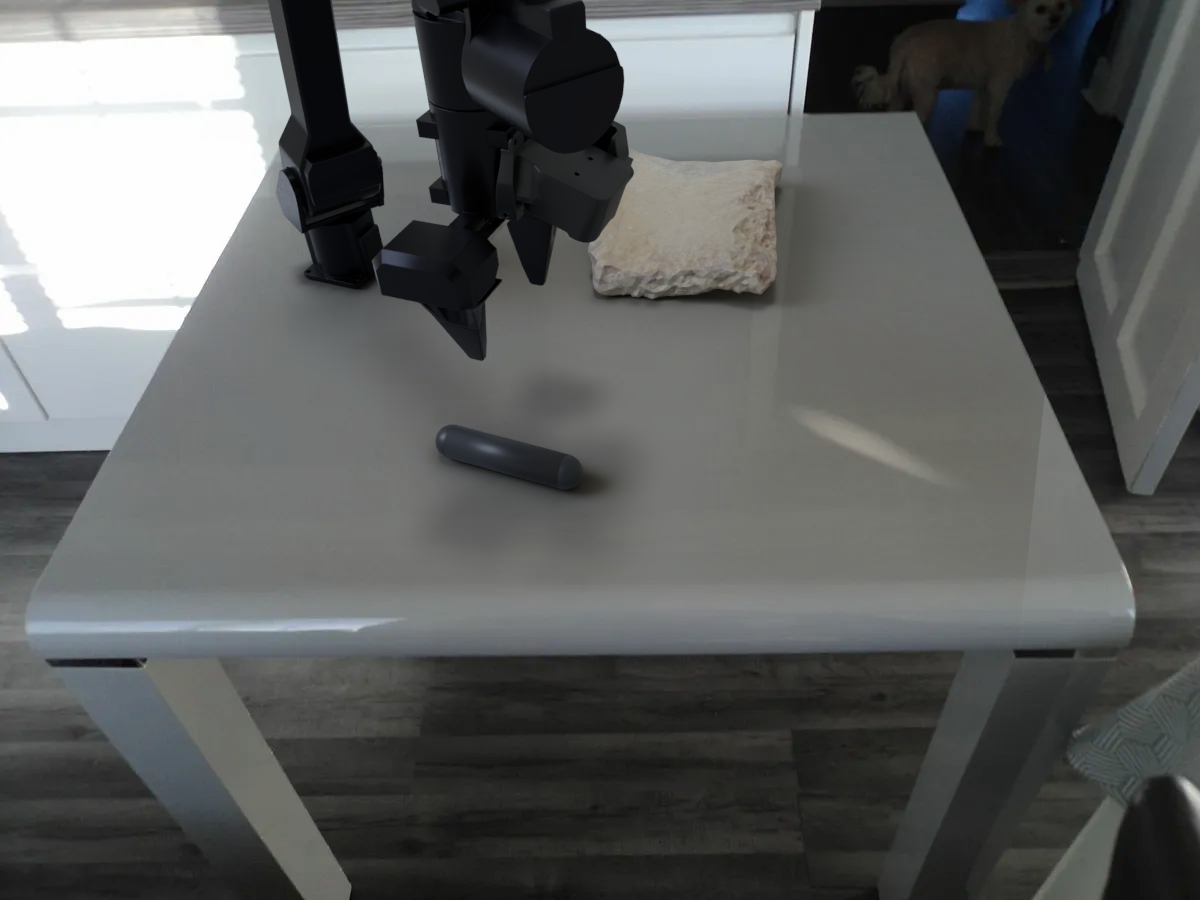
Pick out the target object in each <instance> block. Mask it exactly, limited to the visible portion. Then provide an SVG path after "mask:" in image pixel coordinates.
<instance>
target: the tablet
mask: <svg viewBox="0 0 1200 900" xmlns="http://www.w3.org/2000/svg"><path fill="white" fill-rule="evenodd" d="M628 148H629V157H631V158H633V162H632V165H631V167H632V168H633V170H634V175H633V177H632V178H631V179H630V181H629V182H628V183H627V185H626V187H625V189H624V192H623V195H622V198H621V201H620V203H619V206H618V209H617V212H616V215H615V216H614V218H613V219H611V220H610V221H609V223H608V224H607V225H606V227H605V228H604V229H603V231H602V232H601V234H600V236H599V237H598V238H597V239H596V240H595V241H594V242H590V243H588V244H589V245H588V248H587V253H588V254H587V255H588V256H589V258H590V259H589V260H590V262H591V274H592V279H591V280H592V284H593V288H594V290H595V291H596V292H597V293H599V294H600V295H602V296H625V295H631V298H640V297H645V298H648V299H651V300H655V299H657V298H661V297H662V298H663V297H667V296H669V297H674V296H675V297H676V296H690V295H691V296H693V295H695V296H696V295H697V296H698V295H699V294H703V293H704V294H705V293H709V292H711V291H713V290H723V291H733V292H734V293H737V294H741V293H742V292H745V293H747V292H748V293H753V294H756V295H762V294H763V293H765V291H766V290H767V289H768V288H769V287H770V286H771V285H772V284H773V283H774V282H775V281H776V277H777V275H778V274H777V273H778V270H777V264H778V255H777V254H778V251H777V243H778V242H777V228H776V199H775V198H776V197H775V196H776V195H775V194H776V193H775V189H776V188H777V186H778V184H779V183H780V181H781V180H782V173H783V168H784V166H783V164H782V162H780V161H779V160H777V159H771V160H770V159H769V160H760V159H745V160H729V161H725V160H724V161H723V160H721V161H704V160H685V161H684V160H683V161H681V160H680V161H679V160H672V159H667V158H664V157H660V156H654V155H651V154H646V153H642V152H640V151H637V150H635V149H633V148H630V147H628Z"/></svg>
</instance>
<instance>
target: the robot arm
mask: <svg viewBox="0 0 1200 900" xmlns="http://www.w3.org/2000/svg"><path fill="white" fill-rule="evenodd" d="M267 4H268V9H269V13H270V19H271V24H272V27H273V32H274V38H275V42H276V45H277V52H278V56H279V60H280V65H281V70H282V71H281V72H282V76H283V79H284V84H285V90H286V94H287V98H288V103H289V109H290V116H289V118H288V120H287V122H286V125H285V127H284V128H283V131H282V133H281V135H280V137H279V140H278V150H279V155H280V161H281V167H282V169H280V170H278V176H277V183H276V189H275V196H276V198H277V201H278V203H279V206H280V210H281V211H282V214H283V215H284V217H285V218H286V219H287V220H288V221H289V222H290V223H291V224H292V225H293V226H294V228H296V230H297V231H298V232H299V233H300V234H301V235H304V239H305V242H306V245H307V248H308V251H309V254H310V259H311V262H312V264H310V265H309V266H308V267H307V268H306V269H305V270H304V271H303V276H304V277H305V278H307V279H311V280H316V281H320V282H324V283H330V284H335V285H338V286H343V287H346V288H347V287H348V288H353V289H359V288H360V287H361V288H362V287H363V285H364V284H365V283H366V282H367V281H369V279H371V278H372V277H373V276H374V275H375V279H376V282H377V286H378V289H379V292H380V294H381V296H385V297H390V298H395V299H398V300H405V301H409V302H413V303H418V304H419V305H420V306H421V307H423V308H424V309H425V310H426V311H427V312H428V313H429V314H430V315H432V317H433V318H434V319H435V320H436V322H438V324H439V325H440V326H441V327H442V328H443V329H444V330H445V332H446V333H447V334H448V335H449V337H451V338H452V340H453V341H454V342H455V343H456V344H457V346H458V347H459V348H460V349H461V350H462V351H463V352H464V354H465V355H466V356H467V357H468V358H469V359H471V360H475V361H480V362H483V361H484V360H485V359H486V358H487V347H488V339H487V337H488V336H487V314H486V313H487V311H486V301H488V300H489V298H490V297H491V295H492V294H493V293H494V292H495V291H496V290H497V288H498V287H499V286H500V285H501V284H502V283H503V279H502V278H497V276H498V275H497V274H498V271H499V267H500V262H499V255H498V249H497V247H496V246H495V245H494V244H493V243H492V242H491V241H492V240H493V239H494V238H495V237H496V236H497V235H498V234H499V233H500V231H501V230H503V228H504V227H505V226H506V228H507V229H508V232H509V235H510V238H511V240H512V243H513V246H514V248H515V252H516V253H517V257H518V259H519V261H520V265H521V267H522V269H523V271H524V273H525V275H526V278H527V280H528V282H529V283H530V284H531V285H533V286H534V285H535V286H538V287H539V286H540V287H543V286H544V285H545V284H546V282H547V279H548V278H547V277H548V273H549V268H550V265H551V258H552V254H553V249H554V245H555V238H556V235H557V230H558V229H559V230H561V231H563V232H565V233H566V234H567V235H568V237H569V238H570V239H573V240H575V241H577V242H580V243H585V244H590V242H594V241H595V240H596V239H597V238H598V237H599V236H600V234H601V232H602V231H603V229H604V228H605V227H606V225H607V224H608V223H609V221H610V220H611V219H613V218H614V216H615V215H616V212H617V209H618V206H619V203H620V201H621V198H622V195H623V192H624V189H625V187H626V185H627V183H628V182H629V181H630V179H631V178H632V177H633V175H634V170H633V168H632V167H631V165H632V162H633V158H631V157H629V148H630V147H629V142H628V134H627V128H626V126H625V125H623V124H622V123H620V122H617V121H616V120H615V118H616V117H617V114H618V112H619V110H620V107H621V103H622V100H623V96H624V89H625V71H624V67H623V65H621V62H620V59H619V56H618V53H617V51H616V50H615V48H614V47H613V45H612V43H611V41H609V40H608V39H607V38H606V37H605V36H604V35H602V34H601V33H599V32H596V31H594V30H592V29H591V28H588V27H587V15H586V5H585V3H584V0H410V4H411V6H410V7H411V12H412V18H413V23H414V29H415V35H416V40H417V41H416V42H417V46H418V52H419V57H420V64H421V69H422V75H423V80H424V85H425V86H424V87H425V91H426V97H427V103H428V108H429V109H428V110H427V111H425V112H424V113H423V114H422V115H420V116H419V117H418V118H416V119H415V123H416V128H417V133H418V137H419V138H422V139H423V138H424V139H431V140H434V143H435V148H436V154H437V159H438V164H439V171H440V176H439V177H438V178H437V179H436V180H435V181H434V182H432V183H431V184H430V185H429V186H428V191H429V196H430V197H429V198H430V202H431V204H438V205H444V206H449V207H450V208H451V211H452V212H453V213H455V214H456V215H458V216H456V217H455V218H454V219H453V220H452V221H451V222H450V223H449V225H447V224H446V225H444V224H440V223H434V222H428V221H421V220H417V219H412V220H411V221H410V222H409V223H408V224H407V225H406V226H405V227H404V228H402V230H401V231H400V232H398V234H396V235H395V236H394V237H393V238H392V239H391V240H390V241H389V242H388V243H386V245H385V246H384V245H383V244H384V243H383V241H382V236H381V233H380V232H381V231H380V228H379V225H378V224H377V223H375V218H374V215H373V210H372V209H375V208H377V207H378V208H381V207H383V206H385V183H384V181H385V180H384V168H383V160H382V158H381V156H380V155H378V152H377V151H376V149H375V148H374V146H373V144H372V143H371V142H370V140H369V139H368V138H367V137H366V136H365V135H364V134H363V132H362V131H361V129H359V127H357V125H356V124H355V123H354V122H353V121H352V119H351V116H350V110H349V103H348V97H347V96H348V95H347V90H346V84H345V83H346V82H345V76H344V70H343V63H342V57H341V51H340V45H339V37H338V33H337V25H336V18H335V13H334V5H333V0H267Z"/></svg>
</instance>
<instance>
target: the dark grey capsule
mask: <svg viewBox="0 0 1200 900" xmlns="http://www.w3.org/2000/svg"><path fill="white" fill-rule="evenodd" d="M434 441H435V443H434V444H435V447H436V449H437V452H438V453H439V454H440V455H441V456H443V457H444V458H447V459H451V460H454V461H458V462H462V463H465V464H468V465H472V466H476V467H480V468H484V469H487V470H490V471H494V472H498V473H502V474H504V475H507V476H513V477H516V478H520V479H523V480H526V481H531V482H533V483H537V484H540V485H544V486H549V487H552V488H556V489H558V490H571V489H573V488H575V487H577V486H578V485H579V483H580V482H581V480H582V478H583V473H584V469H583V465H582V463H581V461H580V460H579V459H578V458H577V457H576V456H574V455H572V454H569V453H565V452H561V451H558V450H555V449H550V448H546V447H542V446H539V445H535V444H531V443H528V442H523V441H520V440H516V439H512V438H508V437H505V436H500V435H497V434H493V433H490V432H486V431H482V430H478V429H474V428H471V427H467V426H462V425H458V424H446V425H445V426H443V427H441V428H440V429H439V430H438V432H437V433H436V436H435V440H434Z"/></svg>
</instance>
